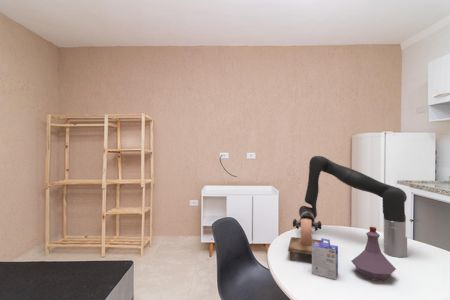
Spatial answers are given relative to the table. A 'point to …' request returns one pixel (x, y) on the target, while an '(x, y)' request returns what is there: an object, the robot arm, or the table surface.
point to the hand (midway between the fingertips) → (306, 228)
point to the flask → (373, 259)
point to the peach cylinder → (306, 232)
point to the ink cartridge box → (325, 259)
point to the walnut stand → (299, 247)
